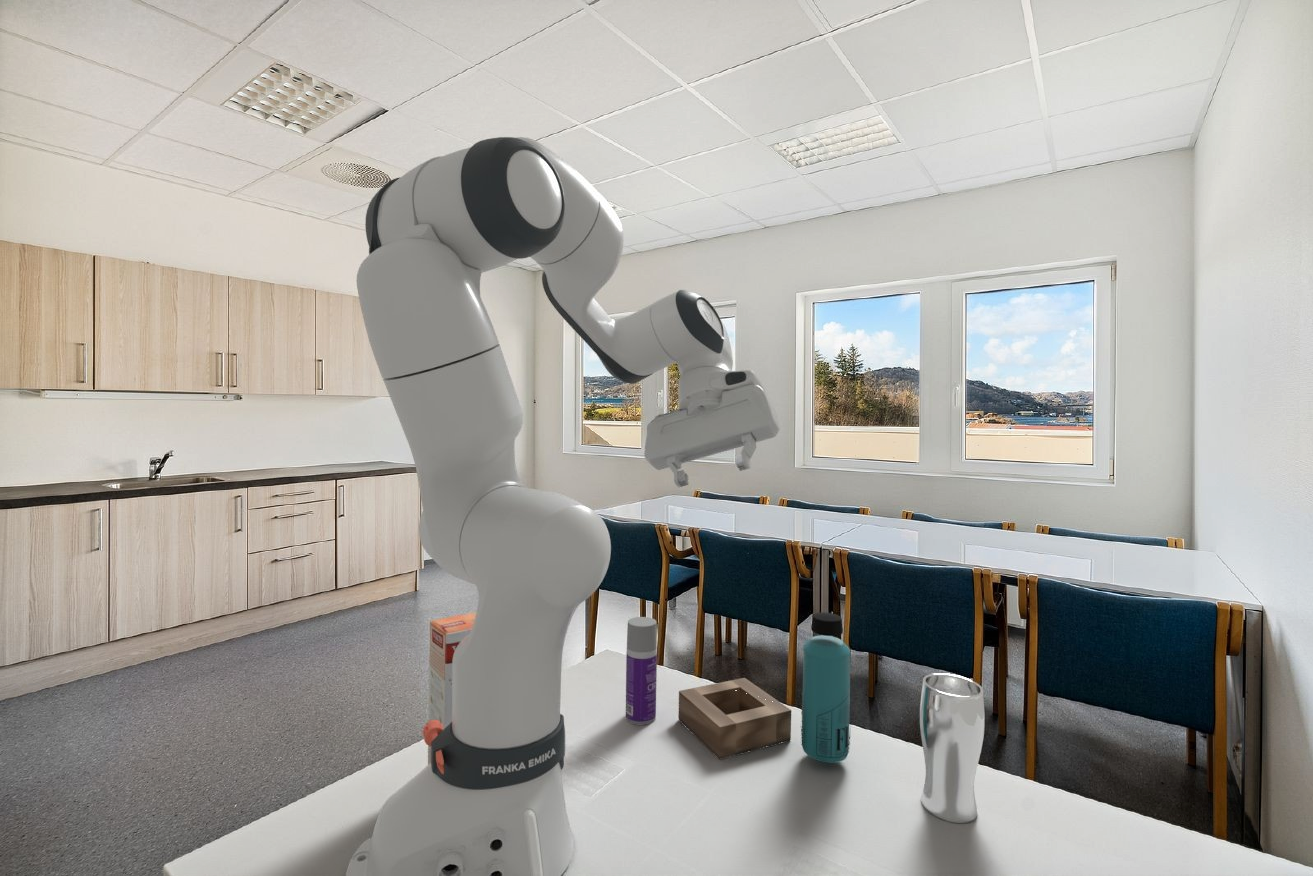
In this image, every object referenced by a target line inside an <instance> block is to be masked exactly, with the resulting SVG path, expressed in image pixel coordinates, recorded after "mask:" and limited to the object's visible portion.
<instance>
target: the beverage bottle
mask: <svg viewBox="0 0 1313 876" xmlns="http://www.w3.org/2000/svg"><path fill="white" fill-rule="evenodd" d="M810 625H811V626H810V629H811V632H813V633H815V634H817V635H815V636H813V637H811V638H810V639H808V640H807V641H806V642H805V643H803V646H802V647H803V648H802V651H803V653H802V654H803V657H802V659H803V662H802V666H803V667H802V693H801V694H802V695H801V697H802V698H801V710H800V711H801V712H800V713H801V717H800V718H801V721H800V722H801V725H800V739H801V743H800V745H801V747H802V750H803V751H804V753H805V755H807V756H808V757H810V758H811V759H814V760H816V761H819V762H824V763H840V762H842V761H845V760H846V759H847V757H848V756H849V753H850V750H851V749H850V748H851V745H850V744H851V735H850V725H851V721H850V719H851V714H852V713H851V710H852V708H851V702H850V701H851V699H850V696H851V695H850V694H851V691H852V688H851V655H852V653H851V649H850V647H849V646H848V645H847V644H846V643H845V642H844V641H843V640H842V639H840V638H838V637H837V636H841V635H842V634H843V633H844V630H843V629H844V628H843V618H842V617H841V616H840V615H838V614H835V613H832V612H817V613H814V614H813V615H812V619H811V624H810Z"/></svg>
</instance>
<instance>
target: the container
mask: <svg viewBox="0 0 1313 876" xmlns="http://www.w3.org/2000/svg"><path fill="white" fill-rule="evenodd" d="M657 624H658V623H657V620H656V619H654V618H652V617H648V616H637V617H636V616H635V617H632V618H630V619H628V620H627V634H626V635H627V636H626V637H627V638H626V652H625V653H626V654H625V655H626V665H625V673H626V674H625V720H626V721H627V722H628V723H630V724H632V725H635V726H645V725H649V724H651V723H653V722H655V721H656V719H657V675H658V674H657V672H658V671H657V668H658V667H657V665H658V661H657V659H658V642H657V641H658V640H657V639H658V636H657V635H658V631H657V629H658V628H657V626H658V625H657Z"/></svg>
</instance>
